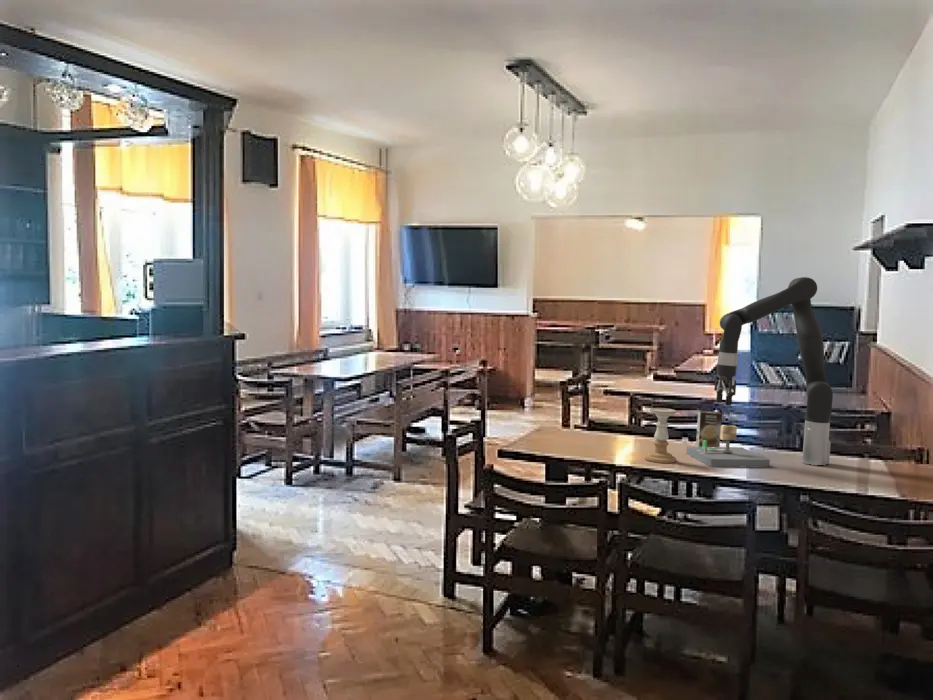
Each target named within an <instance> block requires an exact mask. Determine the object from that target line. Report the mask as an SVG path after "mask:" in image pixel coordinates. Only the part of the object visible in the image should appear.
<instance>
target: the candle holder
mask: <svg viewBox="0 0 933 700" xmlns="http://www.w3.org/2000/svg"><path fill="white" fill-rule="evenodd" d="M649 412H650V414H651V413H652V414H655V416H656V417H657V422H655V426H656V430H655V433H654V435H653V437H654V439H655V440H654V441H653V444H654V451H649V453H647V454H645V455H644V460H645V461H648V462H652V463H659V464H672V463H675V462H676V461H677V457H675V456H674V455H672V453H670V452H668V450H667V447H668V446H669V442H668V439H669V437H670V436H669V433H668V427H669V425H670V424H669V423H668V418H670V416H671V415H676V414H677V410H675V409H672V408H665V407H652V408H649Z"/></svg>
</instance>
